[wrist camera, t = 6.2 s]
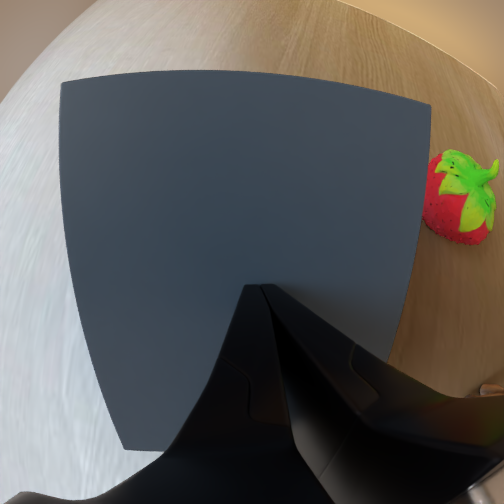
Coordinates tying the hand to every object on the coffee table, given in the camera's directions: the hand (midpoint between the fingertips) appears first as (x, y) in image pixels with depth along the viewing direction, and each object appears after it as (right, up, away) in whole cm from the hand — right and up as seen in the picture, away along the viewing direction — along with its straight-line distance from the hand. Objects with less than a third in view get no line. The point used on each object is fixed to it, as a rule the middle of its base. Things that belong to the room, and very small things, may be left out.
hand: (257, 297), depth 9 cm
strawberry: (+15, +4, +15) cm, 22 cm away
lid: (0, 0, +1) cm, 1 cm away
